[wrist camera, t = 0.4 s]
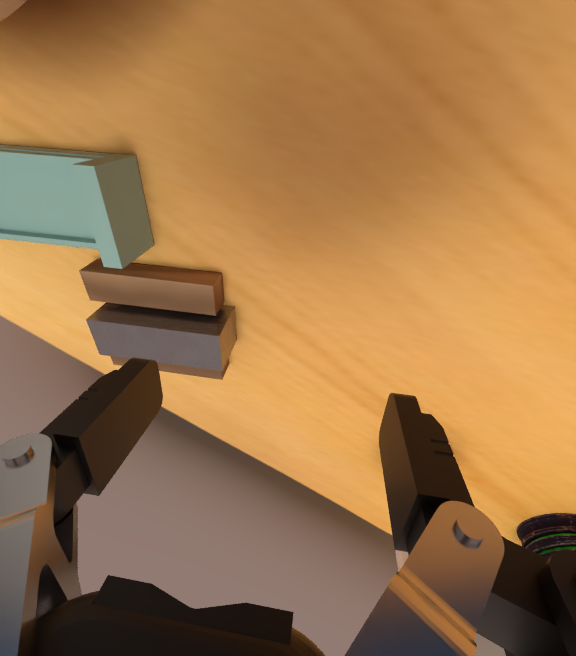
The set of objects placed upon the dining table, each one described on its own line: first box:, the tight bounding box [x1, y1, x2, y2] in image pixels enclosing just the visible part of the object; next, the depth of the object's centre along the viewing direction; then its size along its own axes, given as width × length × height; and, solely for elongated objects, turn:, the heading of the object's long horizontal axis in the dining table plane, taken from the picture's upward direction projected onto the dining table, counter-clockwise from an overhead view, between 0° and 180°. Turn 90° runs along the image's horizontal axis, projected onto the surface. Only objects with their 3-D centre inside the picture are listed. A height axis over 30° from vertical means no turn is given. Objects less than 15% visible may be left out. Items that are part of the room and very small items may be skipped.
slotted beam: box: [79, 259, 229, 380], centre depth 31 cm, size 11×12×2 cm
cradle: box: [0, 144, 154, 269], centre depth 25 cm, size 7×18×5 cm, turn 87°
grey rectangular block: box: [86, 302, 237, 371], centre depth 30 cm, size 4×12×5 cm, turn 87°
